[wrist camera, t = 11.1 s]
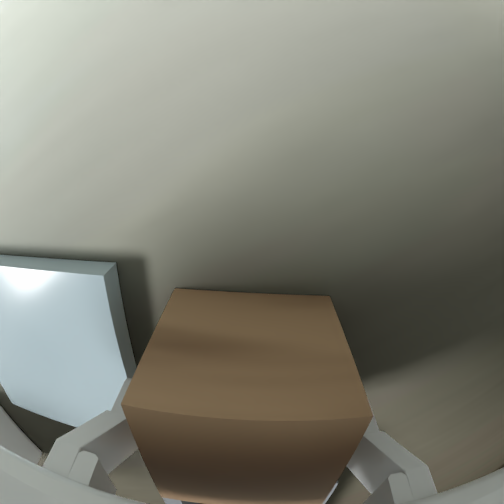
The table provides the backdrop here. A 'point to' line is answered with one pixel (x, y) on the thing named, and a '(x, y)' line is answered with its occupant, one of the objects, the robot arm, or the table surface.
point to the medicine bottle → (17, 439)
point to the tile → (62, 337)
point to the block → (247, 399)
